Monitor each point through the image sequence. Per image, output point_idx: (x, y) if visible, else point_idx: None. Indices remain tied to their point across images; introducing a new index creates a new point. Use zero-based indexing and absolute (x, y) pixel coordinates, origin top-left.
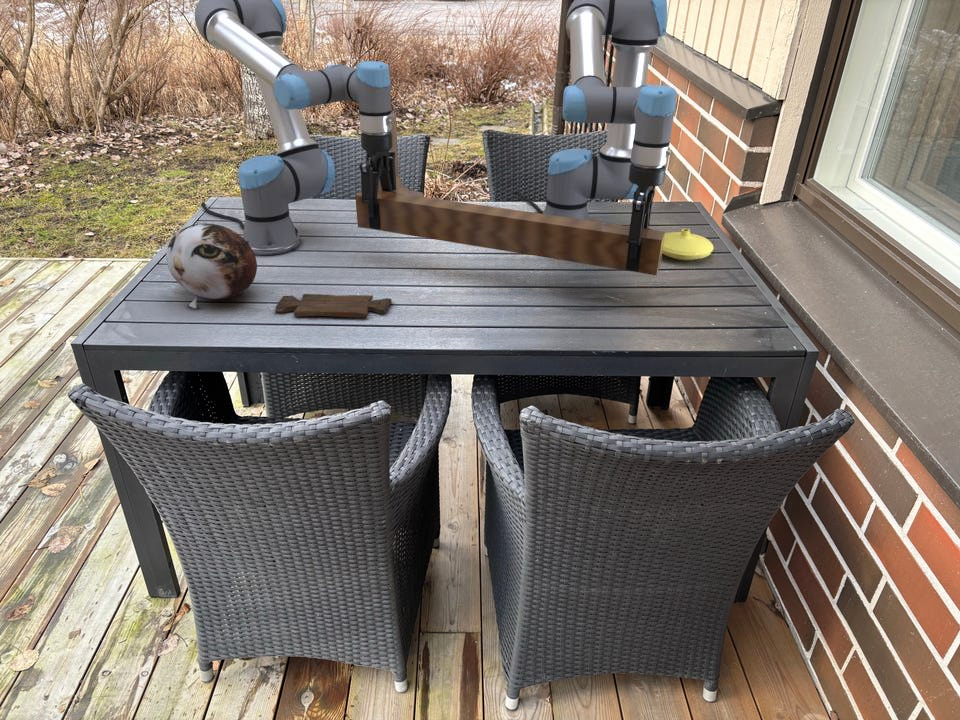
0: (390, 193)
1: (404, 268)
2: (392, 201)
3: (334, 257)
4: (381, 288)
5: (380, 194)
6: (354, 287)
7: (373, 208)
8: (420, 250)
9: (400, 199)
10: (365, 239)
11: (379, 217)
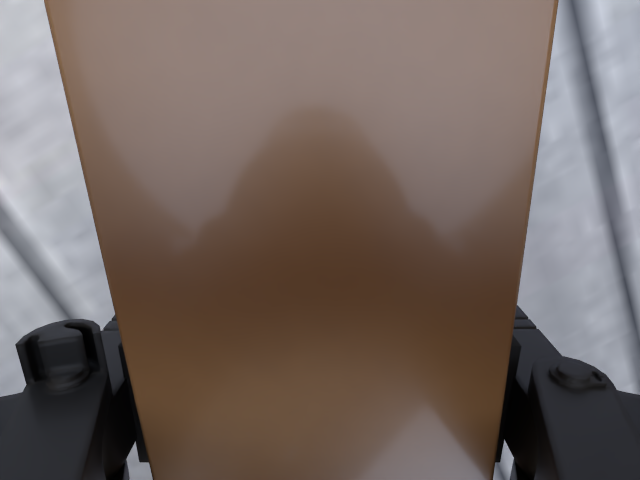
0: (199, 353)
1: None
2: (535, 135)
3: None
4: (617, 36)
5: (318, 453)
6: (631, 164)
7: (543, 349)
8: None
9: (429, 4)
10: None
11: None
